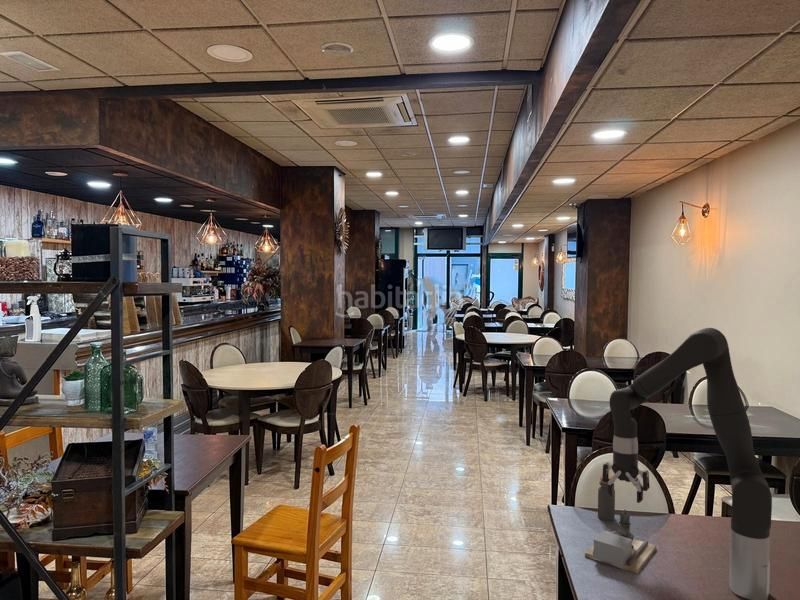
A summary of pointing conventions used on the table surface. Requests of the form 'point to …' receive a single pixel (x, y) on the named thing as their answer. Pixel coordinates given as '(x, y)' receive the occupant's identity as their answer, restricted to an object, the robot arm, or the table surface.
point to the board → (639, 555)
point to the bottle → (605, 502)
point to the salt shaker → (625, 526)
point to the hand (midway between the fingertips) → (625, 498)
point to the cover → (612, 548)
